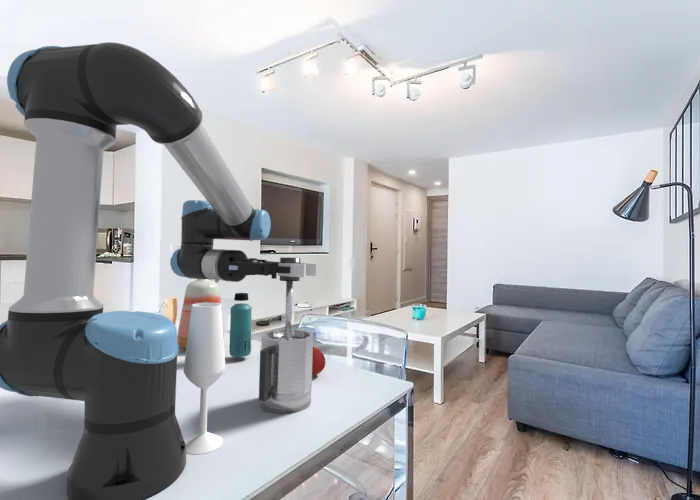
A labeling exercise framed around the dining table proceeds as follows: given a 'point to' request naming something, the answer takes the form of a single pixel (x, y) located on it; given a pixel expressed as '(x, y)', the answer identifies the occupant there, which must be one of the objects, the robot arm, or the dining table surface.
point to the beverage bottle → (240, 327)
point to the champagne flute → (204, 367)
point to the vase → (196, 294)
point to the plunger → (289, 297)
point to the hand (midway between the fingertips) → (310, 270)
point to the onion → (317, 361)
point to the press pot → (286, 371)
